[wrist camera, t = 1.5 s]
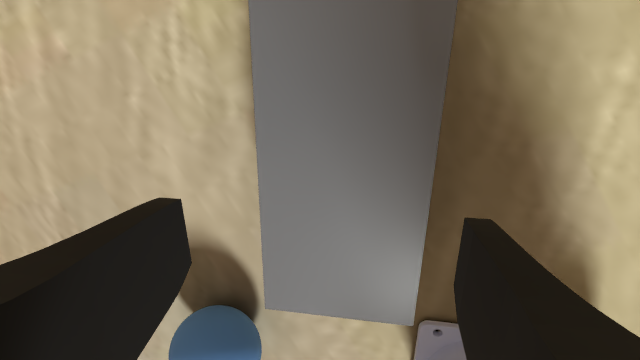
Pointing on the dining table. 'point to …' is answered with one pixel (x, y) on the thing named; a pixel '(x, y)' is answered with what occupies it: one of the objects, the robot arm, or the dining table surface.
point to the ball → (216, 336)
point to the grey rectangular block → (347, 149)
